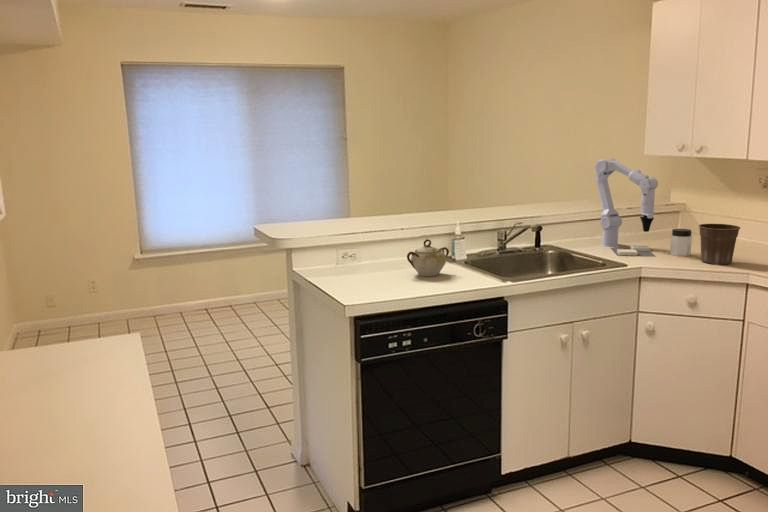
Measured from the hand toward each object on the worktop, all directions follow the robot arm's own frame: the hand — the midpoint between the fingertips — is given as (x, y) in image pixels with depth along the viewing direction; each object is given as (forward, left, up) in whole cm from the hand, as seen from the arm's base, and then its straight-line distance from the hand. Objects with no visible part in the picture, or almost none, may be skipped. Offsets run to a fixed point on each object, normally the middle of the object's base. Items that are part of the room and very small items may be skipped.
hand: (646, 231), depth 307 cm
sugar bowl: (+61, -98, -10) cm, 116 cm away
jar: (+8, +14, -10) cm, 19 cm away
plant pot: (+24, +25, -10) cm, 36 cm away
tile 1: (+7, -10, -8) cm, 15 cm away
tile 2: (-2, -2, -9) cm, 10 cm away
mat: (+4, -6, -10) cm, 13 cm away
